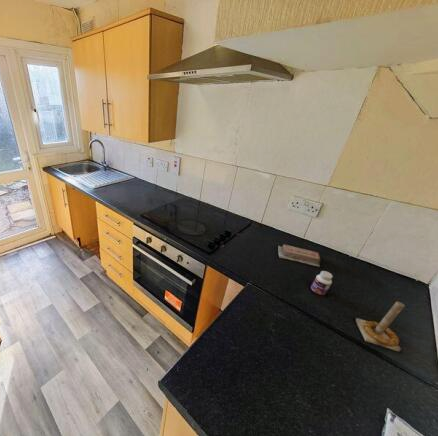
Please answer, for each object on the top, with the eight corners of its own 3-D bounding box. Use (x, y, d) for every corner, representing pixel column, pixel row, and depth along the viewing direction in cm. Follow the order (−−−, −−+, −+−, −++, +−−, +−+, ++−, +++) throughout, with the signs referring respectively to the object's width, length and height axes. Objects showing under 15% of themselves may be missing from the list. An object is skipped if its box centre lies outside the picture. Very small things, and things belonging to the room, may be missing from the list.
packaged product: (318, 249, 116) (323, 260, 108) (315, 257, 119) (319, 268, 111) (280, 240, 123) (281, 250, 114) (277, 248, 125) (278, 257, 117)
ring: (389, 329, 80) (392, 326, 79) (402, 351, 72) (406, 348, 71) (359, 320, 82) (361, 316, 82) (368, 340, 75) (371, 337, 74)
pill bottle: (307, 288, 98) (316, 271, 93) (315, 285, 100) (324, 268, 95) (319, 297, 93) (329, 279, 89) (327, 294, 95) (338, 277, 91)
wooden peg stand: (384, 329, 81) (410, 298, 74) (398, 352, 74) (428, 320, 67) (354, 320, 84) (376, 289, 77) (364, 341, 76) (389, 309, 69)
